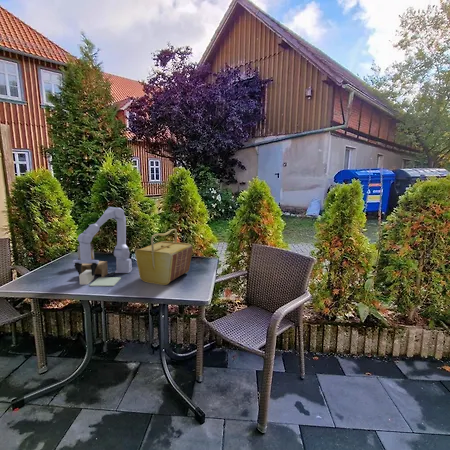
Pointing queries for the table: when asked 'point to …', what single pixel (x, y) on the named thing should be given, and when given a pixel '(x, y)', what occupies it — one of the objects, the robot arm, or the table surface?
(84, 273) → the cream block
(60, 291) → the table surface
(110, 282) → the pale green panel
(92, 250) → the coffee box
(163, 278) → the picnic basket
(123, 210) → the robot arm
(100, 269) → the wooden box
